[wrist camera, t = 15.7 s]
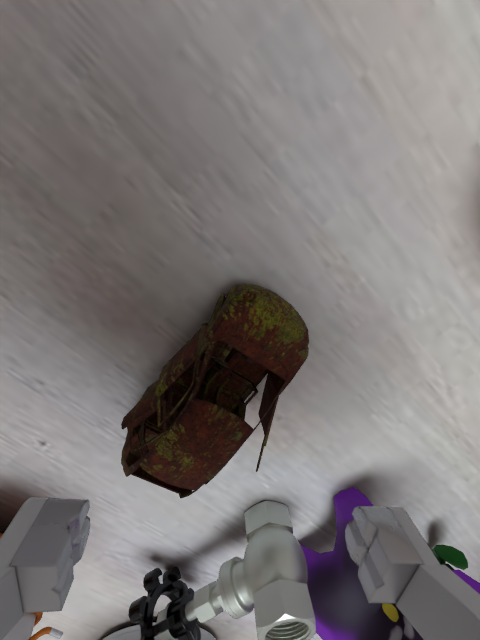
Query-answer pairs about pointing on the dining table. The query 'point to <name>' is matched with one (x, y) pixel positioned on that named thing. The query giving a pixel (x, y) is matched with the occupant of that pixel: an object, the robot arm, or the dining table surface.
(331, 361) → the dining table surface
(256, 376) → the toy car
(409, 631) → the flower
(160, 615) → the valve
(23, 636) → the coil
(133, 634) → the chalice
